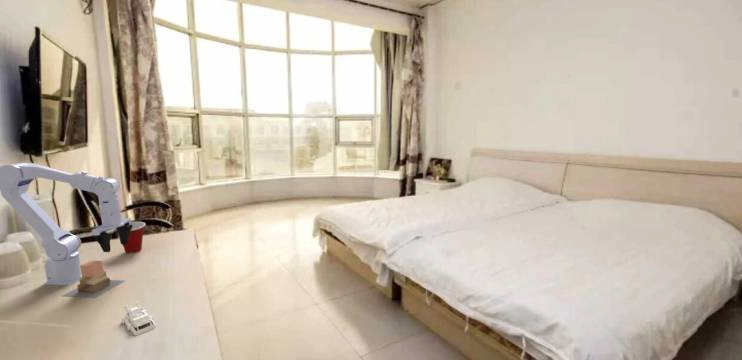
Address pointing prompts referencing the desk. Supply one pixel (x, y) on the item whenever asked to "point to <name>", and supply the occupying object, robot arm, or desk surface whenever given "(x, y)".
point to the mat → (93, 295)
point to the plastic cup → (135, 238)
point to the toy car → (137, 319)
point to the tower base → (94, 286)
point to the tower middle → (92, 279)
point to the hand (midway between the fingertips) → (115, 247)
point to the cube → (91, 268)
